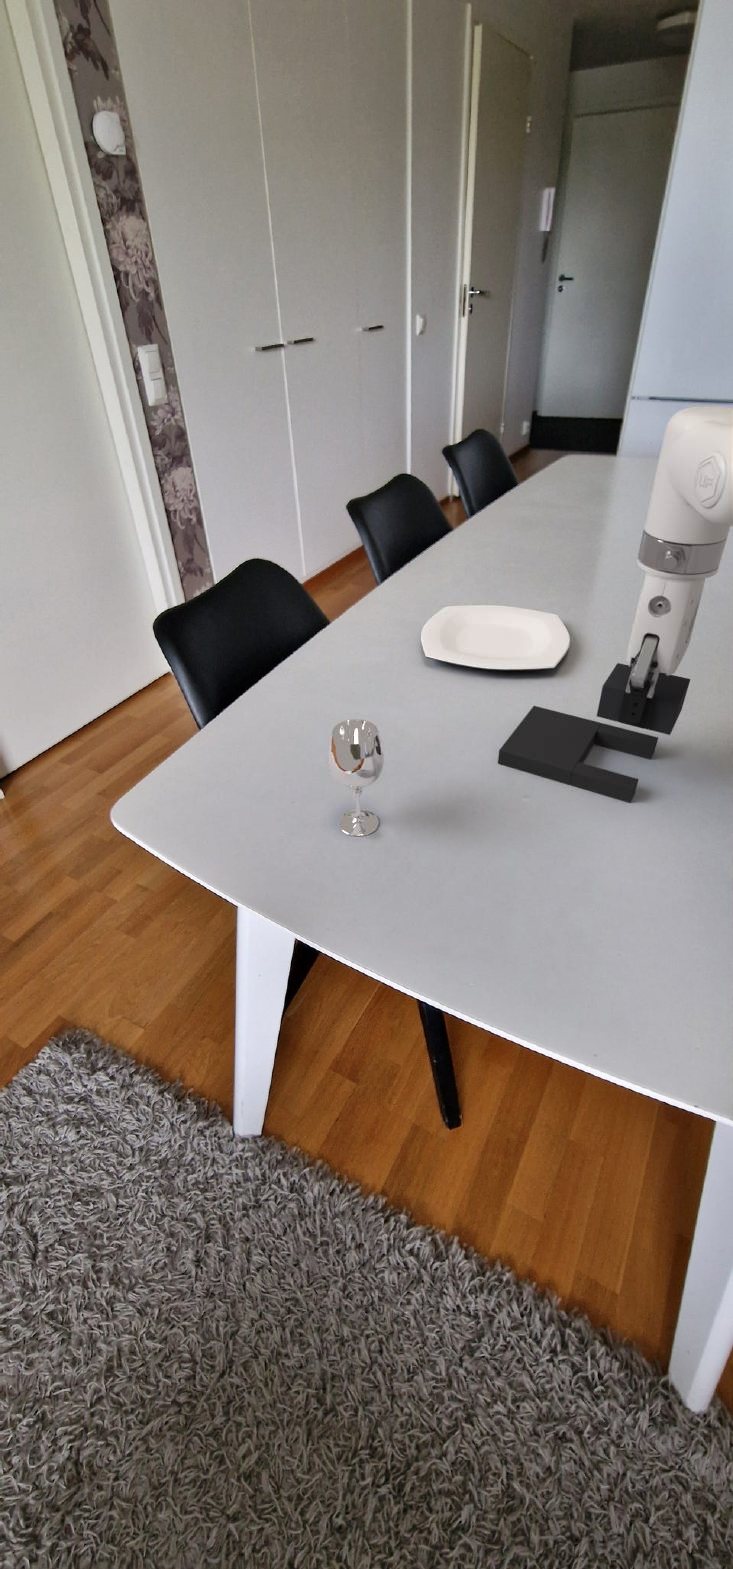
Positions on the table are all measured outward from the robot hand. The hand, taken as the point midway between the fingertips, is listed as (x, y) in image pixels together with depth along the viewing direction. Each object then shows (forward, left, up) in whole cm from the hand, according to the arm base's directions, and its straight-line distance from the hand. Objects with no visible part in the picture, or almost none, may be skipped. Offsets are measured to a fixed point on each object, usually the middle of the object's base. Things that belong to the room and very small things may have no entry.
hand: (640, 709), depth 79 cm
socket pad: (+6, 0, -9) cm, 10 cm away
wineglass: (+23, +24, -9) cm, 34 cm away
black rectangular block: (0, 0, -1) cm, 1 cm away
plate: (+27, -24, -9) cm, 37 cm away
